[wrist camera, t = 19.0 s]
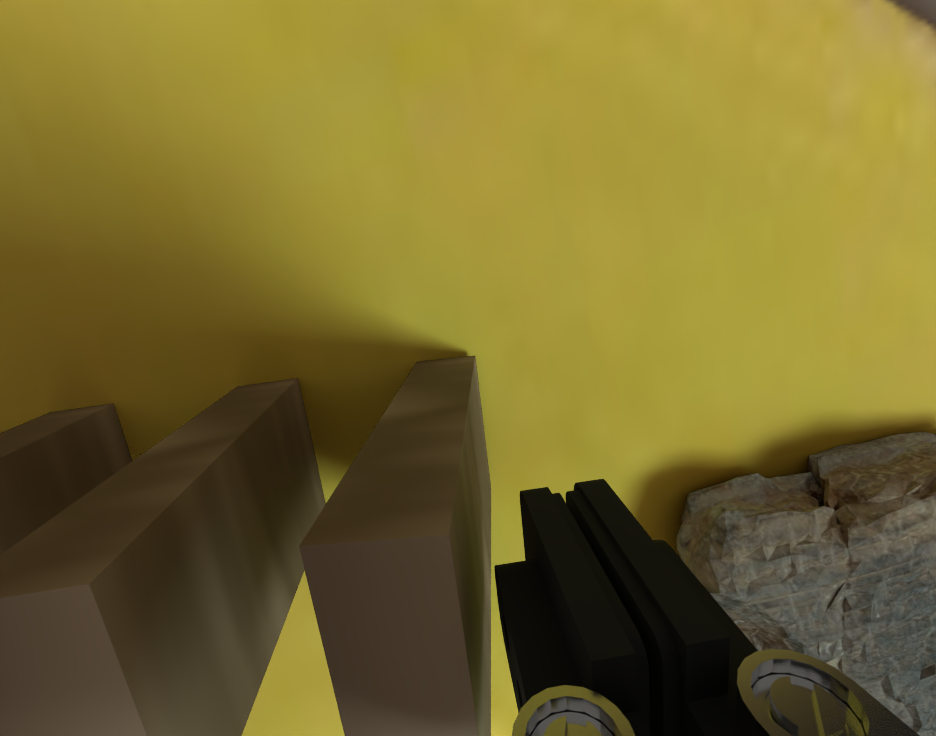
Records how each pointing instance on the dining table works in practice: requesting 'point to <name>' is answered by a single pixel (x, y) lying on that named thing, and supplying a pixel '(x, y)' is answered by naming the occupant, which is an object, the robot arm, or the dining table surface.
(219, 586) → the domino
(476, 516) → the domino
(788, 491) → the grey stone lump
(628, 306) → the dining table surface
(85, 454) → the domino
